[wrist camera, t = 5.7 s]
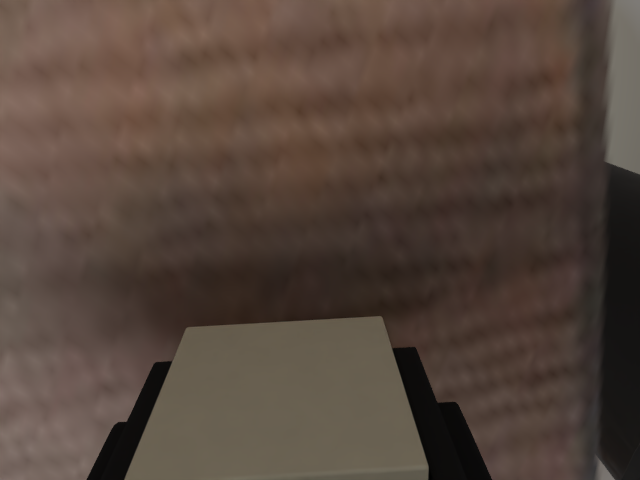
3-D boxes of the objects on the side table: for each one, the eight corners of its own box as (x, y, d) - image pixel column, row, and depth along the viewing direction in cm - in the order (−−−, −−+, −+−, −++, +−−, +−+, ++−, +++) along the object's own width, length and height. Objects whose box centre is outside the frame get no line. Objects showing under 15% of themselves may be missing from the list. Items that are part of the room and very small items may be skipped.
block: (382, 314, 11) (430, 467, 7) (382, 466, 13) (421, 662, 9) (185, 326, 11) (118, 487, 7) (209, 477, 13) (166, 681, 9)
